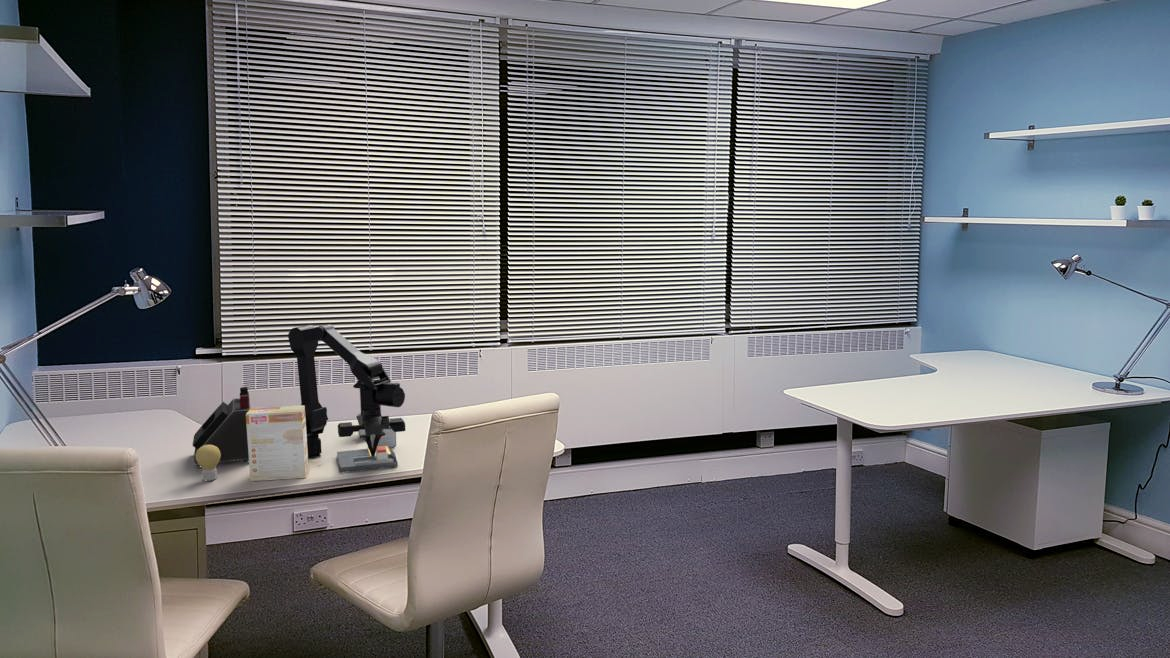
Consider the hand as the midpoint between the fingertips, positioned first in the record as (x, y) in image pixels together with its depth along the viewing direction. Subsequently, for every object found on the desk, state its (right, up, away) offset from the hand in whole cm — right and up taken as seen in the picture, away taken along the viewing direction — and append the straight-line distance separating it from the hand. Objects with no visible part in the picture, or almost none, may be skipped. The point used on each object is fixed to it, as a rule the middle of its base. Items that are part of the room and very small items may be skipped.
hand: (372, 455), depth 264 cm
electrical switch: (-8, +2, +32) cm, 33 cm away
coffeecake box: (-24, -5, -8) cm, 26 cm away
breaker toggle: (+2, -1, +1) cm, 3 cm away
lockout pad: (0, 0, +9) cm, 9 cm away
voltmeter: (-47, -2, +9) cm, 47 cm away
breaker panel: (-3, -2, +5) cm, 6 cm away
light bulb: (-43, -5, -11) cm, 45 cm away
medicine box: (-2, 0, +19) cm, 19 cm away
